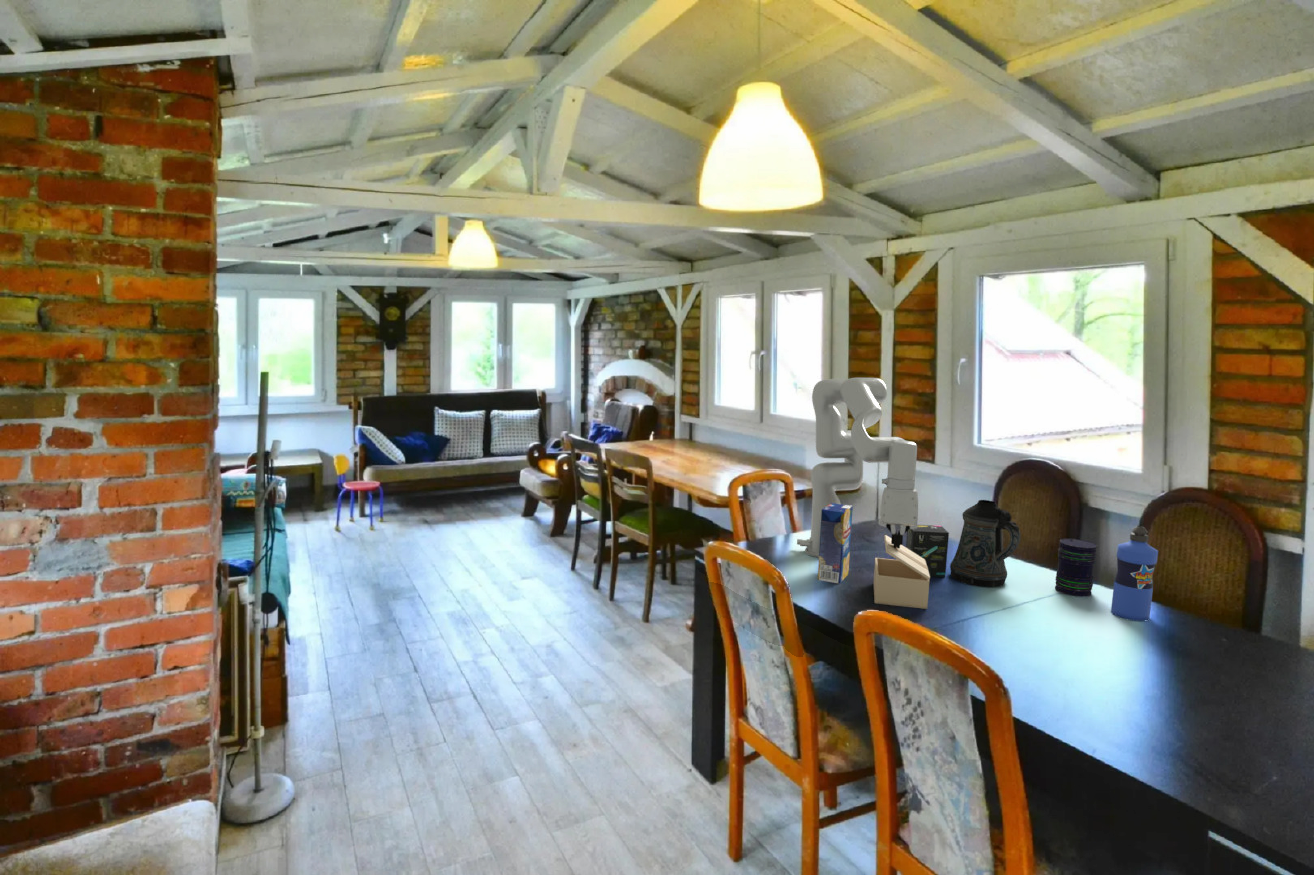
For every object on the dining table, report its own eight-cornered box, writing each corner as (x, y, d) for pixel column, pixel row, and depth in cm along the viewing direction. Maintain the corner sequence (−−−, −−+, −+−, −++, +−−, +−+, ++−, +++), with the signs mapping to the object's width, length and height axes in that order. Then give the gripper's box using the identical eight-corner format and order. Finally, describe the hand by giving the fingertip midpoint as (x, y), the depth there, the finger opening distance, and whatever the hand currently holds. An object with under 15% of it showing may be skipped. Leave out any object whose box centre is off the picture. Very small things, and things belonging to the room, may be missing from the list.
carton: (874, 603, 210) (876, 575, 209) (873, 583, 228) (875, 557, 227) (927, 609, 207) (929, 581, 206) (922, 588, 224) (924, 562, 223)
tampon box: (938, 568, 244) (941, 525, 242) (946, 577, 235) (950, 532, 233) (903, 566, 245) (906, 523, 243) (910, 575, 236) (913, 530, 234)
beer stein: (953, 567, 246) (960, 493, 242) (1019, 578, 236) (1026, 501, 233) (945, 581, 231) (951, 502, 228) (1014, 593, 222) (1022, 511, 218)
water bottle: (1158, 621, 202) (1169, 531, 199) (1125, 621, 202) (1136, 531, 198) (1133, 608, 212) (1144, 522, 208) (1102, 608, 211) (1112, 522, 207)
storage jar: (1099, 596, 221) (1105, 547, 219) (1069, 597, 220) (1075, 548, 218) (1075, 585, 231) (1080, 538, 229) (1047, 586, 229) (1052, 538, 227)
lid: (885, 552, 208) (887, 550, 208) (884, 536, 225) (885, 534, 225) (928, 579, 206) (930, 577, 206) (923, 561, 223) (925, 559, 223)
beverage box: (848, 574, 236) (852, 505, 233) (839, 583, 226) (844, 512, 223) (826, 570, 239) (830, 502, 236) (817, 579, 229) (821, 509, 226)
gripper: (873, 484, 211) (869, 547, 214) (929, 488, 208) (925, 552, 210) (873, 480, 219) (869, 541, 221) (927, 483, 215) (922, 546, 217)
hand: (896, 546), depth 215 cm, fingers closed
